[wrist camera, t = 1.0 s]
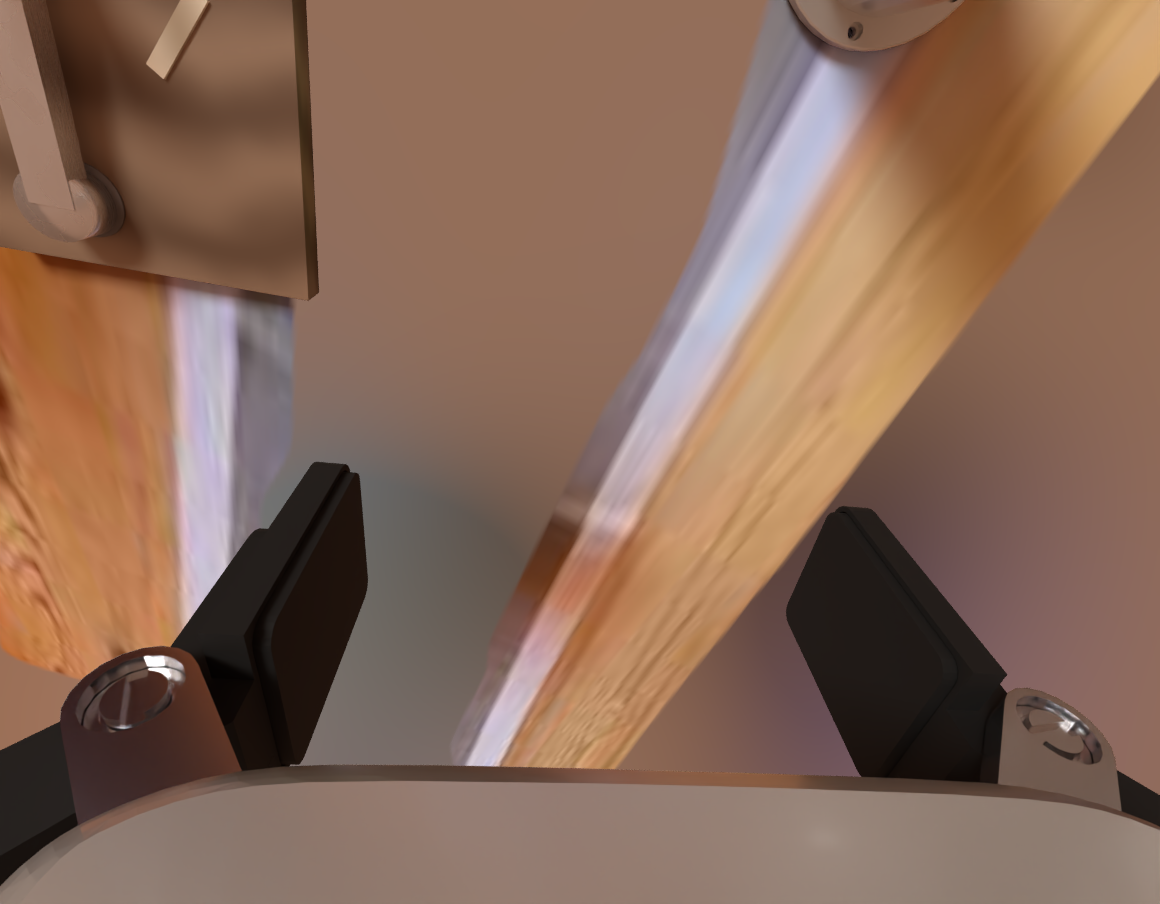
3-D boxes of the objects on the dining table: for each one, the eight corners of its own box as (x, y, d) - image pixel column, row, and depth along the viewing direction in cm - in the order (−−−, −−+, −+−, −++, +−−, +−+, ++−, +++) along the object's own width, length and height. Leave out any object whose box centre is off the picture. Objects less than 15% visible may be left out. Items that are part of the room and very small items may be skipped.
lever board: (-121, -240, 26) (-172, -267, 25) (300, -126, 29) (282, -142, 27) (24, 240, 38) (-3, 247, 36) (318, 292, 40) (307, 301, 38)
